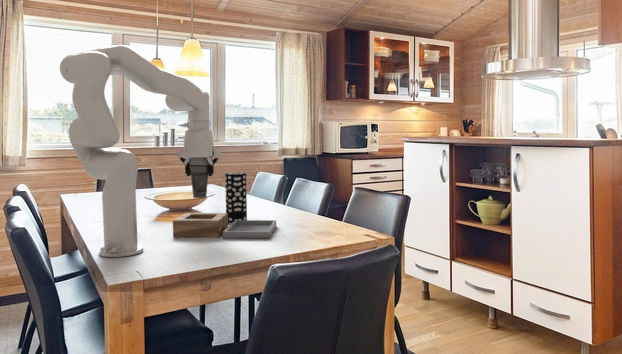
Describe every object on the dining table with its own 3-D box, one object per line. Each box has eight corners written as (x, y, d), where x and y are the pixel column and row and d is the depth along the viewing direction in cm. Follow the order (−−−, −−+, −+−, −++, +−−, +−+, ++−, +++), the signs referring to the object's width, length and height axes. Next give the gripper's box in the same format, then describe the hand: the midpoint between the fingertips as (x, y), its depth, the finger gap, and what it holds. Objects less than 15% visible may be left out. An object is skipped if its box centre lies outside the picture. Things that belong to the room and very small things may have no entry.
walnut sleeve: (218, 237, 173) (218, 220, 172) (173, 237, 173) (172, 220, 173) (228, 228, 189) (227, 212, 188) (186, 228, 189) (185, 212, 189)
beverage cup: (205, 198, 175) (204, 142, 173) (185, 198, 176) (185, 141, 175) (213, 196, 182) (212, 141, 181) (194, 196, 184) (194, 141, 182)
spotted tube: (221, 223, 199) (220, 173, 197) (234, 220, 206) (233, 172, 204) (238, 225, 195) (237, 174, 193) (251, 221, 202) (250, 173, 200)
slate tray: (269, 239, 170) (269, 231, 170) (223, 238, 171) (223, 231, 170) (276, 226, 192) (276, 220, 192) (235, 226, 193) (235, 220, 192)
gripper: (171, 126, 174) (172, 176, 175) (220, 126, 173) (221, 177, 175) (178, 126, 181) (178, 175, 183) (225, 126, 181) (225, 175, 182)
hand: (199, 175), depth 179 cm, fingers closed on beverage cup, 7 cm apart
